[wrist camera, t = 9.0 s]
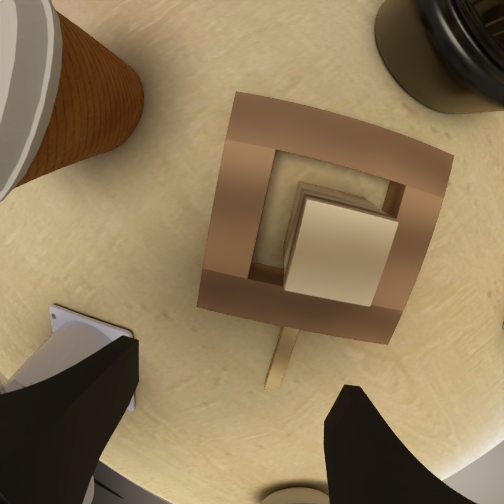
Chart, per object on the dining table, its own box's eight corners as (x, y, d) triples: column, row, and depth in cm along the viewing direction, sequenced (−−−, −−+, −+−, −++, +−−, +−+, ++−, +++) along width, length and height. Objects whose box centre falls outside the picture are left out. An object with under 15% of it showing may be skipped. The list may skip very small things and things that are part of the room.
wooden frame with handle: (343, 395, 23) (347, 417, 20) (194, 367, 23) (186, 388, 21) (434, 153, 16) (454, 155, 14) (241, 98, 16) (236, 91, 14)
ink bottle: (510, 77, 14) (634, 66, 2) (445, 147, 16) (595, 172, 5) (419, -31, 12) (503, -117, 1) (338, 26, 14) (405, -95, 3)
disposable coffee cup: (134, 12, 15) (13, -66, 3) (194, 127, 17) (65, 109, 6) (34, 95, 17) (-98, 95, 6) (80, 203, 19) (-60, 264, 8)
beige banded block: (346, 260, 19) (370, 307, 14) (282, 246, 19) (283, 291, 14) (364, 196, 18) (400, 221, 12) (297, 180, 18) (306, 197, 12)
